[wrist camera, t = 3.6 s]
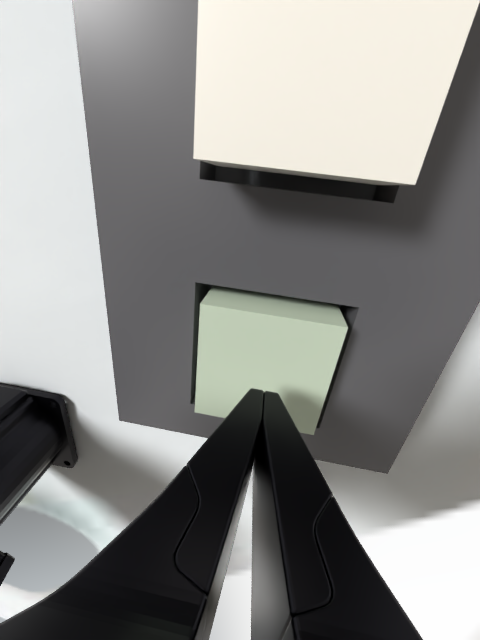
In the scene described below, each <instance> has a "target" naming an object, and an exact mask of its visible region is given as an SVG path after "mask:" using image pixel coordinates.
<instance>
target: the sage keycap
mask: <svg viewBox="0 0 480 640" xmlns="http://www.w3.org/2000/svg"><path fill="white" fill-rule="evenodd" d="M347 330H348V326H347V324H346V322H345V320H344V317H343V315H342V313H341V311H340V309H339V306H338V304H333V303H327V302H320V301H314V300H307V299H301V298H294V297H288V296H281V295H275V294H268V293H262V292H255V291H249V290H242V289H236V288H229V287H223V286H216V285H213V286H212V288H211V289H210V291H209V292H208V293H207V295H206V296H205V298H204V299H203V300H202V302H201V303H200V315H199V335H198V355H197V374H196V394H195V412H196V413H201V414H206V415H211V416H216V417H222V418H226V417H227V416H228V414H229V413H230V412H231V411H232V410H233V408H234V407H235V406H236V405H237V404H238V402H239V401H240V400H241V399H242V398H243V396H244V395H245V394H246V393H247V392H248V391H249V389H251V388H254V389H260V390H263V391H264V392H265V391H271V392H276V393H278V394H279V395H280V397H281V399H282V401H283V403H284V405H285V406H286V408H287V410H288V412H289V414H290V416H291V418H292V419H293V421H294V423H295V425H296V427H297V429H298V431H299V432H300V433H305V434H310V435H314V432H315V429H316V426H317V423H318V420H319V417H320V414H321V411H322V407H323V404H324V401H325V398H326V395H327V392H328V389H329V386H330V383H331V379H332V376H333V373H334V370H335V367H336V364H337V361H338V358H339V355H340V351H341V348H342V345H343V342H344V339H345V336H346V333H347Z"/></svg>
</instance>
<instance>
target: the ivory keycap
mask: <svg viewBox="0 0 480 640" xmlns="http://www.w3.org/2000/svg"><path fill="white" fill-rule="evenodd" d="M479 2H480V0H198V25H197V57H196V89H195V121H194V154H193V159H196V160H200V161H203V162H206V163H210V164H213V165H216V166H221V167H230V168H238V169H246V170H255V171H263V172H271V173H280V174H288V175H296V176H305V177H313V178H321V179H330V180H338V181H346V182H355V183H363V184H371V185H415V184H416V181H417V178H418V176H419V173H420V170H421V167H422V164H423V161H424V159H425V156H426V153H427V150H428V147H429V144H430V142H431V139H432V136H433V133H434V130H435V127H436V125H437V122H438V119H439V116H440V113H441V110H442V107H443V105H444V102H445V99H446V96H447V93H448V90H449V88H450V85H451V82H452V79H453V76H454V73H455V71H456V68H457V65H458V62H459V59H460V56H461V53H462V51H463V48H464V45H465V42H466V39H467V36H468V34H469V31H470V28H471V25H472V22H473V19H474V17H475V14H476V11H477V8H478V5H479Z"/></svg>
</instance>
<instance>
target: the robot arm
mask: <svg viewBox="0 0 480 640" xmlns="http://www.w3.org/2000/svg"><path fill="white" fill-rule="evenodd" d="M253 462H254V464H253ZM76 463H77V455H76V451H75V446H74V442H73V437H72V433H71V428H70V424H69V419H68V415H67V410H66V406H65V401H64V399H63V398H62V397H61V396H59V395H57V394H52V393H47V392H42V391H37V390H32V389H27V388H22V387H16V386H11V385H6V384H1V383H0V526H1V524H2V523H3V522H4V521H5V520H6V518H7V517H8V516H9V515H10V514H11V512H12V511H13V510H14V509H15V508H16V506H17V505H18V504H19V503H20V502H21V500H22V499H23V498H24V497H25V496H26V494H27V493H28V492H29V491H30V490H31V488H32V487H33V486H34V485H35V484H36V482H37V481H38V480H39V479H40V478H41V477H42V475H43V474H44V473H45V472H46V471H47V469H48V468H49V467H50V466H51V465H52V464H53V465H57V466H62V467H67V468H73V467H74V465H75V464H76ZM252 467H253V508H252V600H251V640H423V639H422V638H421V636H420V634H419V633H418V631H417V630H416V629H415V627H414V625H413V624H412V622H411V621H410V619H409V618H408V616H407V615H406V613H405V612H404V610H403V609H402V607H401V606H400V604H399V603H398V601H397V599H396V598H395V596H394V595H393V593H392V592H391V590H390V589H389V587H388V586H387V584H386V583H385V581H384V580H383V578H382V577H381V575H380V573H379V572H378V570H377V569H376V567H375V566H374V564H373V563H372V561H371V559H370V558H369V556H368V555H367V553H366V552H365V550H364V548H363V547H362V545H361V544H360V542H359V540H358V539H357V537H356V535H355V534H354V532H353V530H352V528H351V527H350V525H349V523H348V521H347V520H346V518H345V516H344V514H343V512H342V511H341V509H340V507H339V505H338V503H337V501H336V499H335V498H334V497H332V496H333V494H332V492H331V490H330V488H329V486H328V485H327V483H326V481H325V479H324V477H323V475H322V473H321V472H320V470H319V468H318V466H317V464H316V462H315V460H314V459H313V457H312V455H311V453H310V451H309V449H308V447H307V446H306V444H305V442H304V440H303V438H302V436H301V434H300V432H299V431H298V429H297V427H296V425H295V423H294V421H293V419H292V418H291V416H290V414H289V412H288V410H287V408H286V406H285V405H284V403H283V401H282V399H281V397H280V395H279V394H278V393H276V392H271V391H265V392H264V391H263V390H260V389H254V388H251V389H249V391H248V392H247V393H246V394H245V395H244V396H243V398H242V399H241V400H240V401H239V402H238V404H237V405H236V406H235V407H234V408H233V410H232V411H231V412H230V413H229V414H228V416H227V417H226V418H225V419H224V420H223V421H222V423H221V424H220V425H219V426H218V427H217V429H216V430H215V431H214V432H213V433H212V435H211V436H210V437H209V438H208V439H207V440H206V442H205V443H204V444H203V445H202V446H201V448H200V449H199V450H198V451H197V452H196V454H195V455H194V456H193V457H192V458H191V460H190V461H189V462H188V463H187V466H185V467H184V468H183V469H182V470H181V471H180V472H179V474H178V475H177V476H176V477H175V478H174V479H173V481H172V482H171V483H170V484H169V485H168V486H167V487H166V488H165V489H164V491H163V492H162V493H161V494H160V495H159V496H158V497H157V498H156V499H155V500H154V501H153V502H152V503H151V504H150V505H149V506H148V507H147V508H146V509H145V510H144V511H143V512H142V513H141V514H140V515H139V516H138V517H137V518H136V519H135V520H134V521H133V522H131V523H130V524H129V525H128V526H127V527H126V528H125V529H124V530H123V531H122V532H121V533H120V534H119V535H118V536H117V537H116V538H115V539H113V540H112V541H111V542H110V543H109V544H108V545H107V546H106V547H105V548H104V549H103V550H102V551H101V552H100V553H99V554H98V555H97V556H95V557H94V558H93V559H92V560H91V561H90V562H89V563H88V564H87V565H86V566H85V567H84V568H83V569H82V570H80V571H79V572H78V573H77V574H76V575H75V576H74V577H73V578H71V579H70V580H69V581H68V582H66V583H65V584H64V585H63V586H61V587H60V588H59V589H57V590H56V591H55V592H53V593H52V594H50V595H49V596H47V597H46V598H44V599H43V600H41V601H39V602H38V603H36V604H34V605H33V606H31V607H29V608H27V609H25V610H24V611H22V612H20V613H18V614H16V615H15V616H13V617H11V618H9V619H7V620H6V621H4V622H2V623H0V640H209V636H210V633H211V629H212V625H213V621H214V617H215V613H216V609H217V605H218V601H219V598H220V594H221V590H222V585H223V582H224V578H225V574H226V570H227V566H228V562H229V558H230V554H231V551H232V547H233V543H234V539H235V535H236V531H237V527H238V523H239V519H240V515H241V511H242V508H243V504H244V500H245V496H246V492H247V488H248V484H249V480H250V476H251V472H252ZM14 560H15V558H13V557H12V556H11V555H9V554H8V553H3V552H1V551H0V586H1V584H2V582H3V580H4V578H5V577H6V574H7V573H8V571H9V569H10V567H11V566H12V564H13V562H14Z"/></svg>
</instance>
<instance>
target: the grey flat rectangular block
mask: <svg viewBox="0 0 480 640" xmlns="http://www.w3.org/2000/svg"><path fill="white" fill-rule="evenodd" d="M72 4H73V13H74V22H75V31H76V40H77V49H78V57H79V66H80V75H81V84H82V93H83V102H84V111H85V120H86V129H87V137H88V146H89V155H90V164H91V173H92V182H93V191H94V200H95V209H96V218H97V226H98V235H99V244H100V253H101V262H102V271H103V280H104V289H105V298H106V306H107V315H108V324H109V333H110V342H111V351H112V360H113V369H114V378H115V386H116V395H117V404H118V413H119V420H120V421H125V422H130V423H135V424H140V425H145V426H150V427H155V428H160V429H165V430H170V431H175V432H180V433H185V434H190V435H195V436H200V437H205V438H209V437H210V436H211V435H212V433H213V432H214V431H215V430H216V429H217V427H218V426H219V425H220V424H221V423H222V421H223V420H224V419H225V418H222V417H216V416H211V415H206V414H201V413H196V412H195V394H196V374H197V355H198V335H199V315H200V303H201V302H202V300H203V299H204V298H205V296H206V295H207V293H208V292H209V291H210V289H211V288H212V286H213V285H216V286H223V287H229V288H236V289H242V290H249V291H255V292H262V293H268V294H275V295H281V296H288V297H294V298H301V299H307V300H314V301H320V302H327V303H333V304H338V306H339V309H340V311H341V313H342V315H343V317H344V320H345V322H346V324H347V326H348V330H347V333H346V336H345V339H344V342H343V345H342V348H341V351H340V355H339V358H338V361H337V364H336V367H335V370H334V373H333V376H332V379H331V383H330V386H329V389H328V392H327V395H326V398H325V401H324V404H323V407H322V411H321V414H320V417H319V420H318V423H317V426H316V429H315V432H314V435H310V434H305V433H300V434H301V436H302V438H303V440H304V442H305V444H306V446H307V447H308V449H309V451H310V453H311V455H312V457H313V459H316V460H321V461H326V462H331V463H336V464H341V465H346V466H351V467H356V468H362V469H367V470H372V471H377V472H382V473H387V474H388V472H389V470H390V468H391V466H392V464H393V462H394V461H395V459H396V457H397V455H398V453H399V451H400V449H401V447H402V446H403V444H404V442H405V440H406V438H407V436H408V434H409V432H410V431H411V429H412V427H413V425H414V423H415V421H416V419H417V417H418V416H419V414H420V412H421V410H422V408H423V406H424V404H425V403H426V401H427V399H428V397H429V395H430V393H431V391H432V389H433V388H434V386H435V384H436V382H437V380H438V378H439V376H440V374H441V373H442V371H443V369H444V367H445V365H446V363H447V361H448V359H449V358H450V356H451V354H452V352H453V350H454V348H455V346H456V345H457V343H458V341H459V339H460V337H461V335H462V333H463V331H464V330H465V328H466V326H467V324H468V322H469V320H470V318H471V316H472V315H473V313H474V311H475V309H476V307H477V305H478V303H479V301H480V2H479V5H478V8H477V11H476V14H475V17H474V19H473V22H472V25H471V28H470V31H469V34H468V36H467V39H466V42H465V45H464V48H463V51H462V53H461V56H460V59H459V62H458V65H457V68H456V71H455V73H454V76H453V79H452V82H451V85H450V88H449V90H448V93H447V96H446V99H445V102H444V105H443V107H442V110H441V113H440V116H439V119H438V122H437V125H436V127H435V130H434V133H433V136H432V139H431V142H430V144H429V147H428V150H427V153H426V156H425V159H424V161H423V164H422V167H421V170H420V173H419V176H418V178H417V181H416V184H415V185H371V184H363V183H355V182H346V181H338V180H330V179H321V178H313V177H305V176H296V175H288V174H280V173H271V172H263V171H255V170H246V169H238V168H230V167H221V166H216V165H213V164H210V163H206V162H203V161H200V160H196V159H193V154H194V121H195V89H196V57H197V25H198V0H72Z"/></svg>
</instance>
